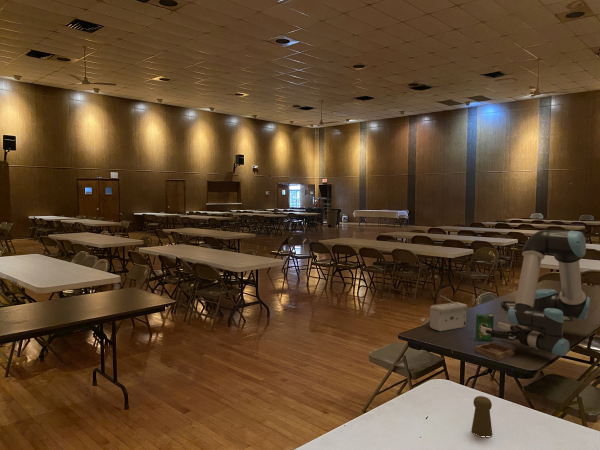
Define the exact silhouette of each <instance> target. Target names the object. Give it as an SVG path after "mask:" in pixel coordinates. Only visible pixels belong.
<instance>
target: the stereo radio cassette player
mask: <svg viewBox="0 0 600 450" xmlns="http://www.w3.org/2000/svg"><path fill="white" fill-rule="evenodd" d="M440 297H442V295H440ZM443 298H444V299H445V300H447V301H449V303H440V304H434V305H430V307H429V327H430V328H431V329H432V330H435V331H439V333H440V332H442V331H443V332H444V331H449V330H457V329H461V328H462V329H463V328H466V325H467V308H468V305H467V304H466V303H464V302H463V303H461V302H459V301H456V302H455V301H452V300H451V299H449V298H447V297H444V296H443Z"/></svg>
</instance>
